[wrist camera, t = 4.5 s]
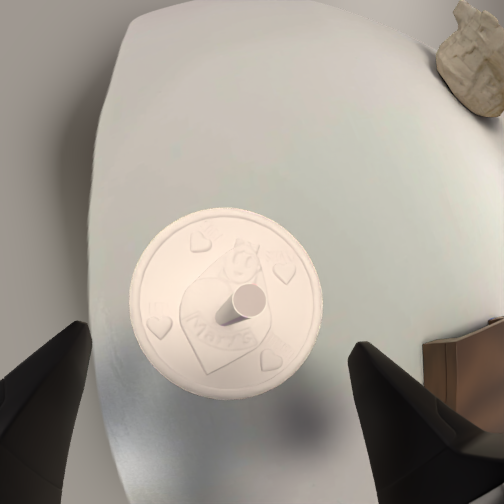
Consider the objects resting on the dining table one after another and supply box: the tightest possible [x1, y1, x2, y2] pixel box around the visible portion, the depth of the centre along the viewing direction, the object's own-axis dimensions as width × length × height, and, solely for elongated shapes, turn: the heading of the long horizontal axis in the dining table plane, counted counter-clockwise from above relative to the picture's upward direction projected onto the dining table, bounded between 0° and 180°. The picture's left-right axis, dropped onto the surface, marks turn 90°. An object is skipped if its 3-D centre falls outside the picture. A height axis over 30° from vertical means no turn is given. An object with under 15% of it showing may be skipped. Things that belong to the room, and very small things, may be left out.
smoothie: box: [129, 208, 323, 400], centre depth 11 cm, size 6×6×14 cm
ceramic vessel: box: [436, 0, 504, 117], centre depth 28 cm, size 23×24×25 cm
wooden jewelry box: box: [423, 316, 504, 433], centre depth 18 cm, size 14×14×4 cm
